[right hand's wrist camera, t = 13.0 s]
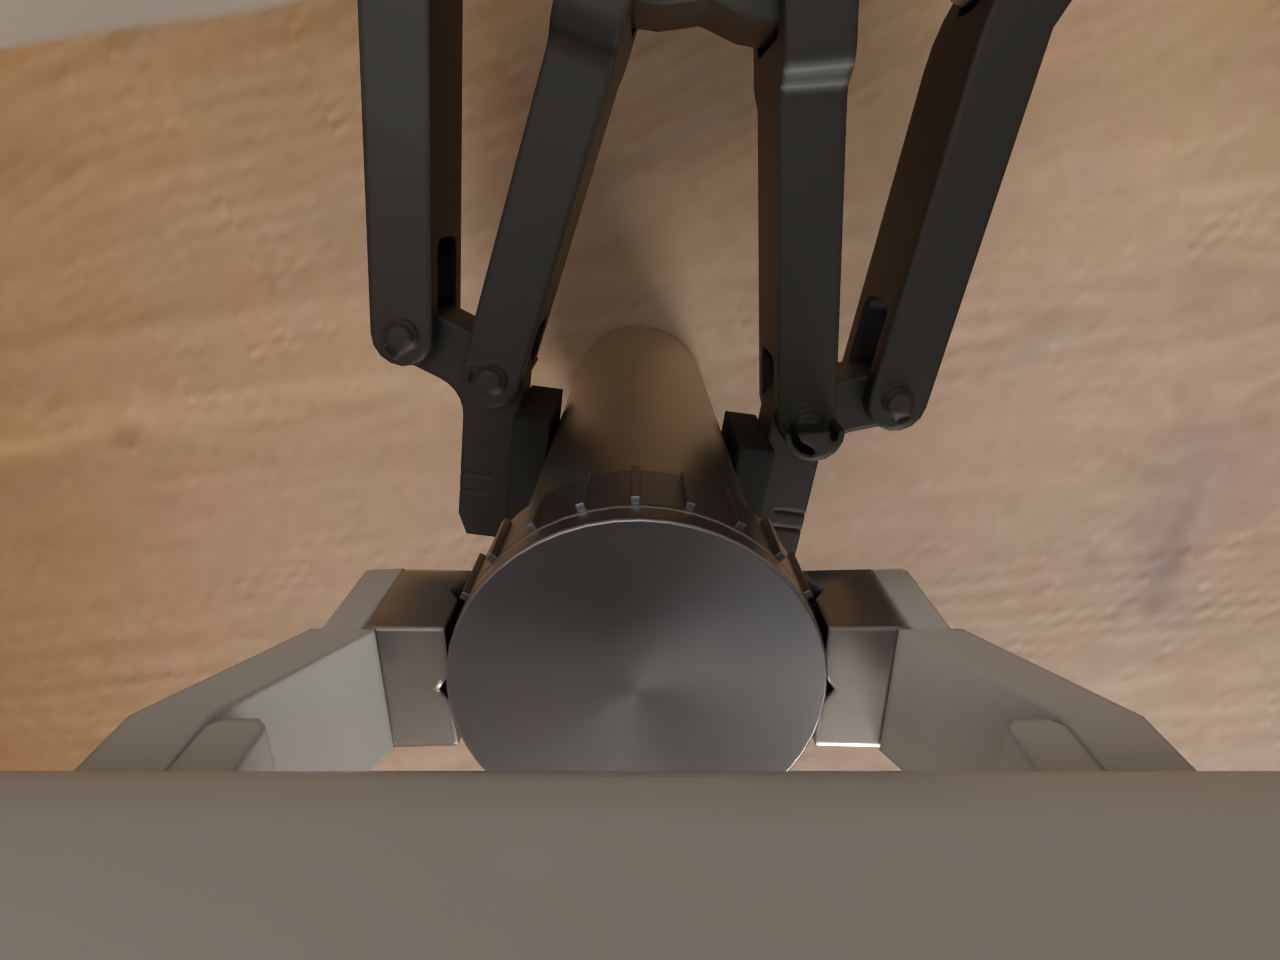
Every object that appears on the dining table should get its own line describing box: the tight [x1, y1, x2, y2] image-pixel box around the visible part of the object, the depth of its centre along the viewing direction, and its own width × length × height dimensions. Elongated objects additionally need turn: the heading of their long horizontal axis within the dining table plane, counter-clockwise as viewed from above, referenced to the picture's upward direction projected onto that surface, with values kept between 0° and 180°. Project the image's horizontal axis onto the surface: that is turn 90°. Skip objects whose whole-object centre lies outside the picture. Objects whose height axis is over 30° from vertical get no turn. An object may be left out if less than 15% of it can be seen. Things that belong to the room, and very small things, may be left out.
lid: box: [446, 465, 828, 771], centre depth 9 cm, size 5×5×2 cm
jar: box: [529, 326, 747, 506], centre depth 16 cm, size 4×4×14 cm
